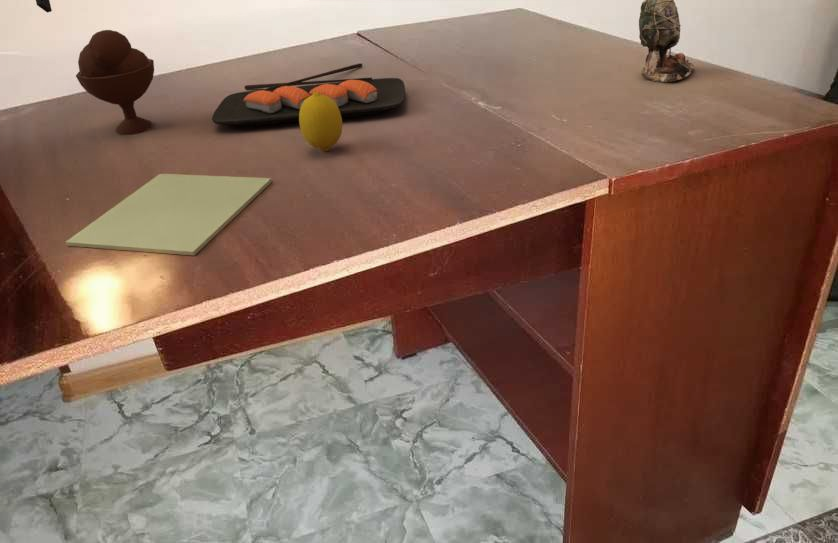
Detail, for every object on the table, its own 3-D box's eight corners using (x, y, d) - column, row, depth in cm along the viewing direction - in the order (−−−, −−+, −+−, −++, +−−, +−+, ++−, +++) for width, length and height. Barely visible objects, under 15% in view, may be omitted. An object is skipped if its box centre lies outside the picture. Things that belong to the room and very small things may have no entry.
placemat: (66, 245, 76) (65, 241, 76) (161, 176, 90) (160, 173, 90) (194, 255, 72) (193, 251, 71) (272, 181, 86) (271, 178, 86)
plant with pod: (616, 78, 109) (625, -63, 98) (668, 63, 113) (681, -74, 103) (657, 90, 103) (671, -59, 92) (709, 72, 107) (728, -71, 97)
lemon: (354, 146, 94) (346, 87, 90) (327, 161, 90) (317, 101, 86) (323, 140, 97) (313, 83, 92) (296, 155, 93) (285, 96, 89)
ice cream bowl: (184, 118, 110) (158, 20, 103) (133, 144, 102) (100, 39, 94) (135, 113, 115) (105, 19, 107) (81, 138, 106) (45, 38, 98)
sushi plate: (209, 136, 102) (203, 110, 100) (245, 77, 128) (241, 56, 126) (406, 117, 102) (404, 91, 100) (403, 62, 127) (401, 40, 125)
